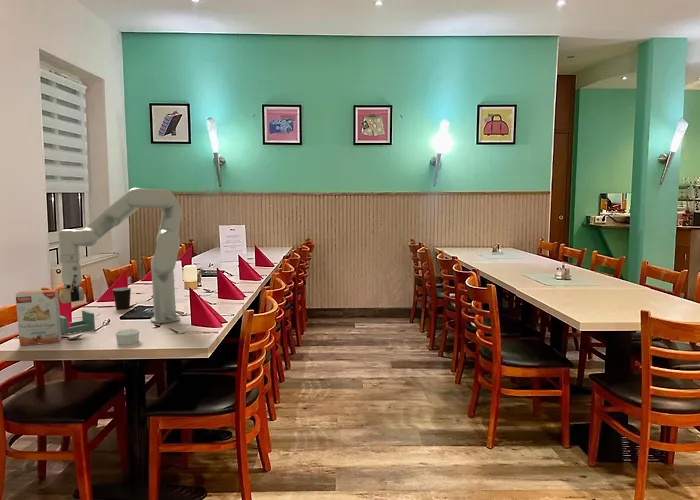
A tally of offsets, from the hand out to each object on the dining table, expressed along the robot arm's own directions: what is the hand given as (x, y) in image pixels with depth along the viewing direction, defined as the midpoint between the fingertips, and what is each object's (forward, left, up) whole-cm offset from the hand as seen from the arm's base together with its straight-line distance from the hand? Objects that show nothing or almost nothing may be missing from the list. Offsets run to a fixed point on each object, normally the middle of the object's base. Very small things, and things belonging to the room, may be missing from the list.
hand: (72, 299), depth 237 cm
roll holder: (0, 0, -13) cm, 13 cm away
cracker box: (-10, +17, -14) cm, 24 cm away
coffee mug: (+27, -34, -14) cm, 46 cm away
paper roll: (0, 0, -1) cm, 1 cm away
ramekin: (-37, -6, -14) cm, 40 cm away
